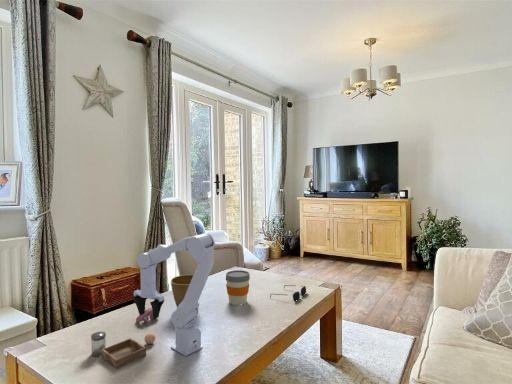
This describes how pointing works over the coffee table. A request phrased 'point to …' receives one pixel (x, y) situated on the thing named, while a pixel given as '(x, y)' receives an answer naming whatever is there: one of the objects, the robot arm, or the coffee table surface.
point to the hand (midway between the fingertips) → (149, 316)
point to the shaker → (98, 343)
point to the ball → (149, 338)
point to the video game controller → (145, 316)
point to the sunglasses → (296, 293)
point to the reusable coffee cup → (237, 286)
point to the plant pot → (180, 287)
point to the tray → (123, 352)
